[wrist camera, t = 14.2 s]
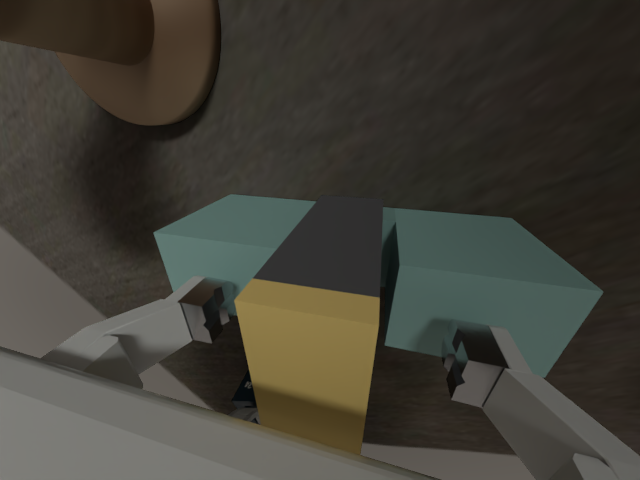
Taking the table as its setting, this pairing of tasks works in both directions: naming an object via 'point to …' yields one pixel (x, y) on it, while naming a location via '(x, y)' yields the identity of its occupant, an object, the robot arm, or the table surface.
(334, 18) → the table surface
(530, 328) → the notch board
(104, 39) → the bobbin
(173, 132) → the table surface
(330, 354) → the yellow and black block
